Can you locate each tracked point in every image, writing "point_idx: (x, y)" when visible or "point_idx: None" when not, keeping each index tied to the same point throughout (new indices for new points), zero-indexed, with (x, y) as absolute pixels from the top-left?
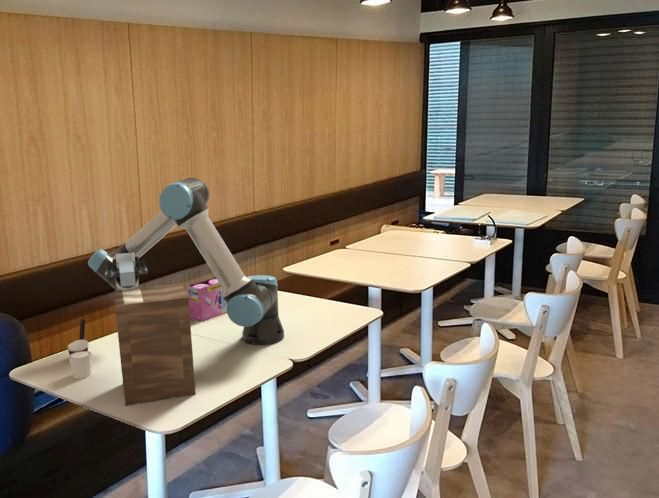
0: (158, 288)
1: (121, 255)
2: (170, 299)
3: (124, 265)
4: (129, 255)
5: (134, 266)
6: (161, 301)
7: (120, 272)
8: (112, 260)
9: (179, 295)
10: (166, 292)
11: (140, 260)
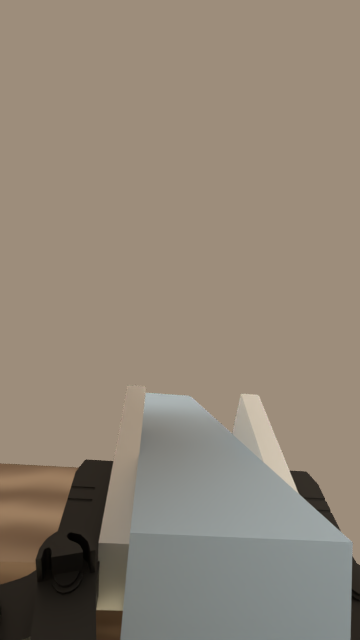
0: (22, 532)
1: (256, 485)
2: (45, 466)
3: (182, 408)
4: (161, 468)
5: (106, 601)
6: (72, 469)
7: (188, 396)
8: (312, 485)
9: (2, 474)
10: (21, 497)
11: (13, 582)
